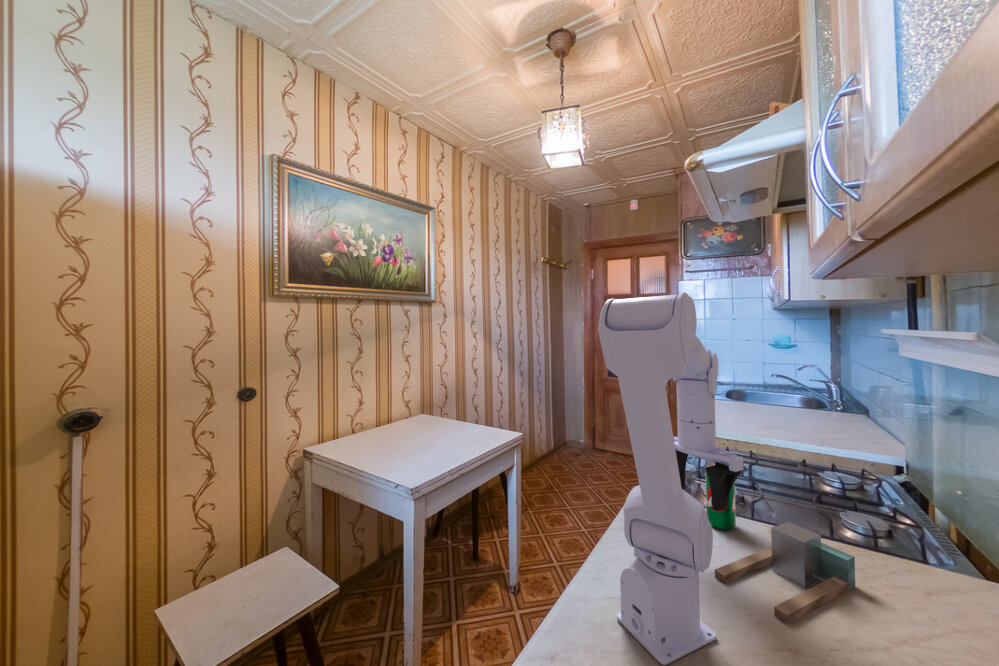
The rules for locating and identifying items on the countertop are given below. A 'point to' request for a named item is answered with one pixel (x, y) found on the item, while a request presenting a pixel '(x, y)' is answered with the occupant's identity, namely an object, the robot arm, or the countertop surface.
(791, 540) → the block
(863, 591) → the countertop surface
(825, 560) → the guide channel
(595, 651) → the countertop surface
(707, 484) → the soda can
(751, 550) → the countertop surface
